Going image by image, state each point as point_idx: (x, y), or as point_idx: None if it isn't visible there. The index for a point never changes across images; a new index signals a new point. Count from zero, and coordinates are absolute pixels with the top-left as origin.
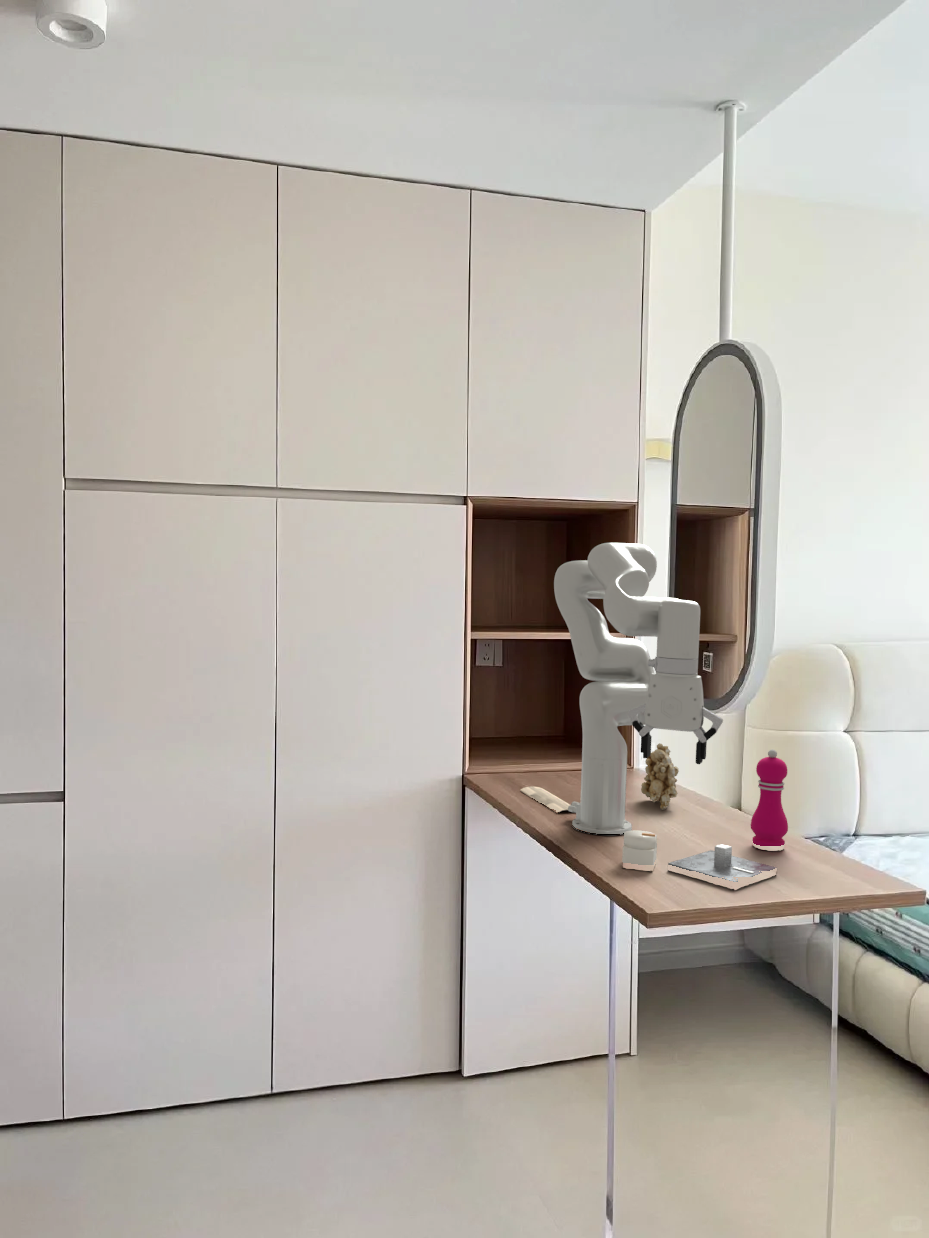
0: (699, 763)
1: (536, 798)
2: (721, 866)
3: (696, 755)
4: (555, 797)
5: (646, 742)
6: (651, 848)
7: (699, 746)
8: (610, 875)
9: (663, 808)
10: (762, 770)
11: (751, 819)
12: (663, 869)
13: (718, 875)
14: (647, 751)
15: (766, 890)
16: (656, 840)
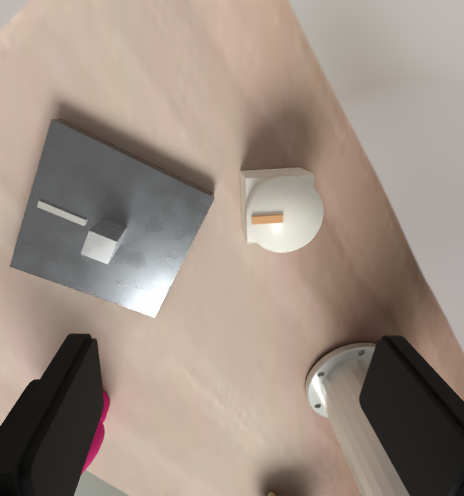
0: (70, 336)
1: None
2: (109, 220)
3: (72, 371)
4: None
5: (450, 413)
6: (252, 190)
7: (10, 434)
8: (317, 109)
9: (270, 493)
10: None
11: (99, 441)
12: (223, 201)
13: (98, 154)
14: (398, 367)
15: (3, 153)
16: (246, 215)
